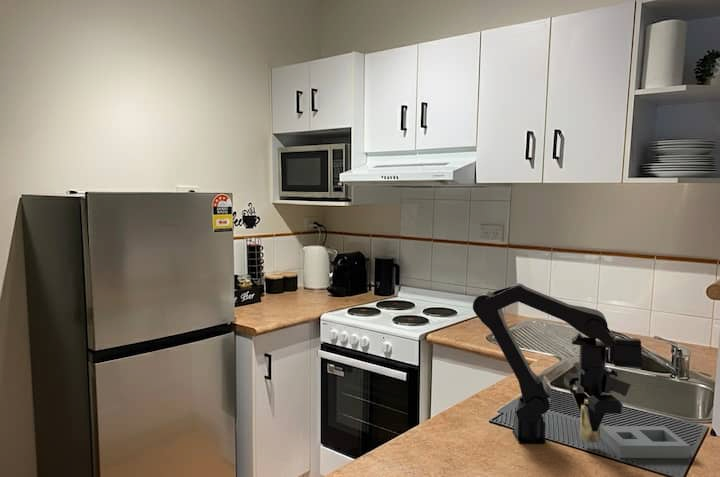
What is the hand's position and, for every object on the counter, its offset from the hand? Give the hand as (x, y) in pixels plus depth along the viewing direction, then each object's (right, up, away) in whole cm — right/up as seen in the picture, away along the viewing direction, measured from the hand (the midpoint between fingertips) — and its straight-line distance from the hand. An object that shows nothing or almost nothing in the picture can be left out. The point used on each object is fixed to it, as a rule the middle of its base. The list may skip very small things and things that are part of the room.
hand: (590, 426), depth 123 cm
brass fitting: (0, -3, 0) cm, 3 cm away
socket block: (+13, -5, 0) cm, 14 cm away
